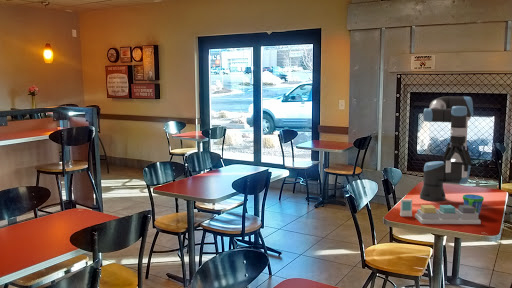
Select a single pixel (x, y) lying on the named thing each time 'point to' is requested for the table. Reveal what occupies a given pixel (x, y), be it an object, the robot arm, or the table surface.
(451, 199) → the table surface
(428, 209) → the mustard button
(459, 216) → the board
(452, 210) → the teal button
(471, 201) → the snack cup
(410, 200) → the sign
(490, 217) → the table surface
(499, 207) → the table surface
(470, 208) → the charcoal button
